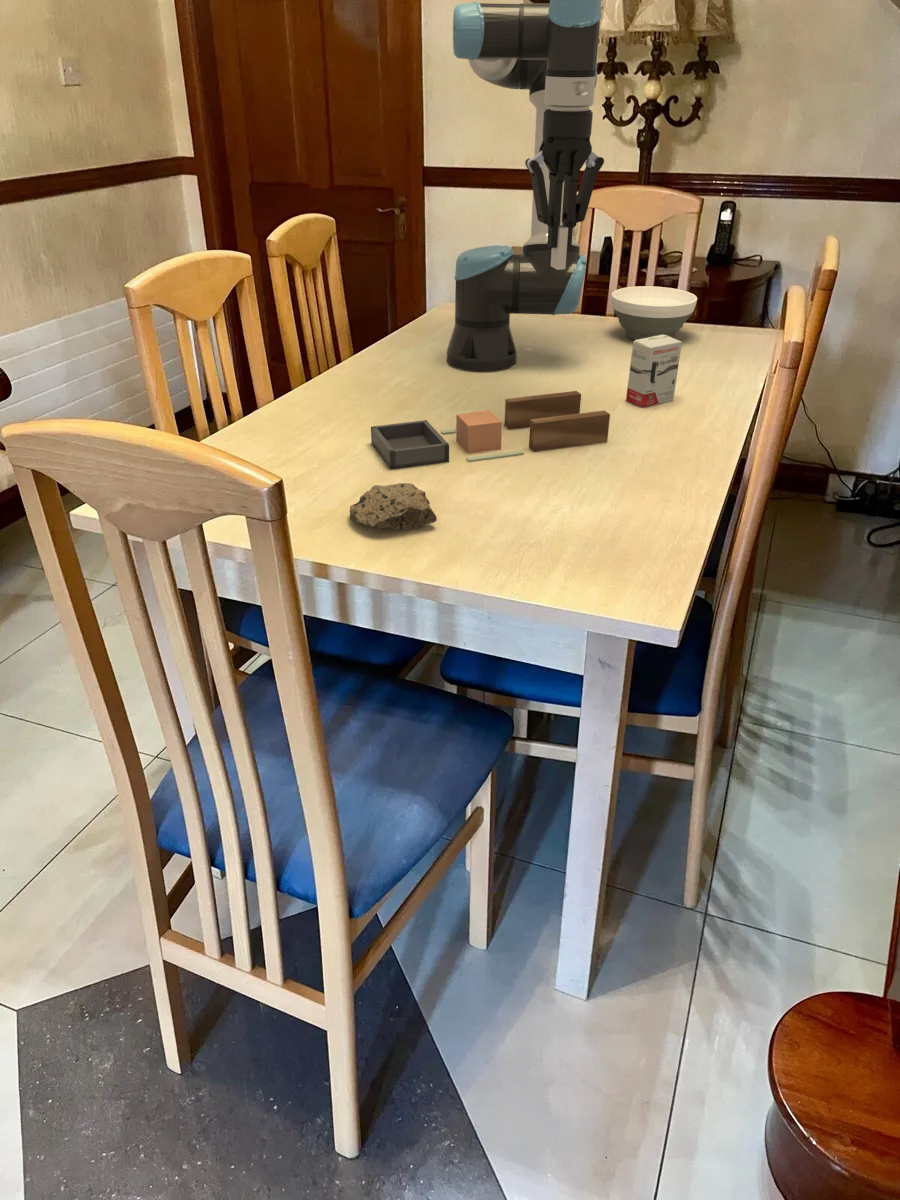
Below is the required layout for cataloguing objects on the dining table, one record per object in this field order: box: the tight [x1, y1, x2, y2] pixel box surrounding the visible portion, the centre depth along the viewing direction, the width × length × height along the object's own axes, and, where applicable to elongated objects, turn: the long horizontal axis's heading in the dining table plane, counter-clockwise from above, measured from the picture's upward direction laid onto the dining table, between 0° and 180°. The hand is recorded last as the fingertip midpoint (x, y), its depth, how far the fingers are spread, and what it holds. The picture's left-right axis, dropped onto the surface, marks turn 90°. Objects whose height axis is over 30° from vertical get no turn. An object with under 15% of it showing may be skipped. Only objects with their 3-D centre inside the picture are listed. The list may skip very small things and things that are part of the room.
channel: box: [503, 390, 611, 452], centre depth 159 cm, size 13×14×5 cm
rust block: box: [455, 409, 503, 454], centre depth 155 cm, size 6×6×5 cm
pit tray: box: [370, 419, 450, 470], centre depth 152 cm, size 12×10×3 cm
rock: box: [349, 482, 438, 530], centre depth 131 cm, size 11×12×4 cm
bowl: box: [610, 285, 698, 341], centre depth 212 cm, size 20×20×10 cm
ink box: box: [625, 335, 683, 409], centre depth 173 cm, size 8×5×12 cm, turn 123°
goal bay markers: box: [440, 428, 525, 463], centre depth 157 cm, size 14×10×1 cm
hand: (557, 267), depth 152 cm, fingers closed
